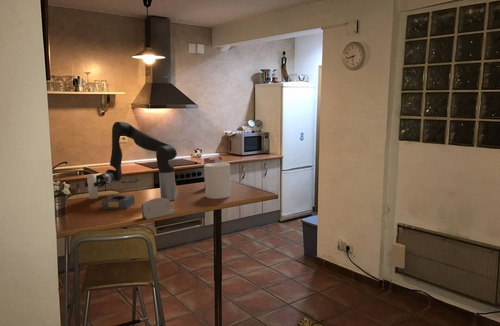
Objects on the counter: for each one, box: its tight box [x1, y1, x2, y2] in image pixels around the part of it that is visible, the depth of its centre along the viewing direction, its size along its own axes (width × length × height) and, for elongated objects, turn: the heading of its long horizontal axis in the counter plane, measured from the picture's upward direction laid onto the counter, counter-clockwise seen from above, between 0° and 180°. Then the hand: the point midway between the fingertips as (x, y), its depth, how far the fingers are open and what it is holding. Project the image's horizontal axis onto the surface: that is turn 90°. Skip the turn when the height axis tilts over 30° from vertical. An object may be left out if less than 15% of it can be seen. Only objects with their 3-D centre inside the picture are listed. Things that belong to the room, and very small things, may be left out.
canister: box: [203, 162, 232, 200], centre depth 254 cm, size 16×16×20 cm
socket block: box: [100, 194, 136, 210], centre depth 236 cm, size 14×14×5 cm
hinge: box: [140, 197, 175, 220], centre depth 214 cm, size 17×5×10 cm, turn 129°
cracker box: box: [203, 155, 223, 182], centre depth 285 cm, size 14×6×21 cm, turn 147°
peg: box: [86, 173, 99, 200], centre depth 240 cm, size 5×5×14 cm
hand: (90, 184), depth 237 cm, fingers closed on peg, 5 cm apart
